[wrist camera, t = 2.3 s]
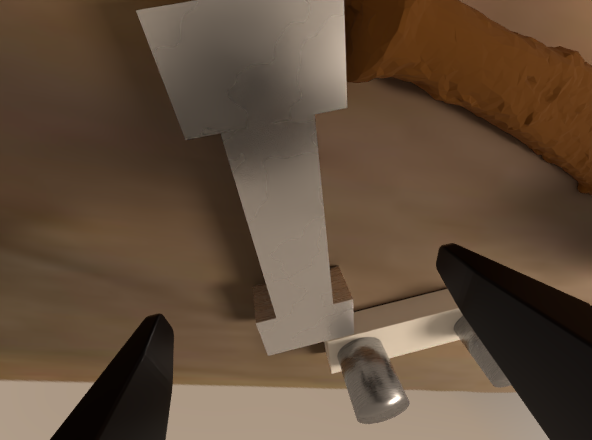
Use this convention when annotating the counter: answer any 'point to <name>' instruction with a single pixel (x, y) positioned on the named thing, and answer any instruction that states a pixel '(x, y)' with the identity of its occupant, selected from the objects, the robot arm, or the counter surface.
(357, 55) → the primitive tool
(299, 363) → the counter surface
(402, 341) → the peg rack
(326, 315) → the spanner
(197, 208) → the counter surface
